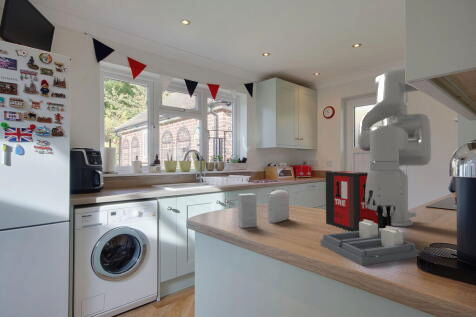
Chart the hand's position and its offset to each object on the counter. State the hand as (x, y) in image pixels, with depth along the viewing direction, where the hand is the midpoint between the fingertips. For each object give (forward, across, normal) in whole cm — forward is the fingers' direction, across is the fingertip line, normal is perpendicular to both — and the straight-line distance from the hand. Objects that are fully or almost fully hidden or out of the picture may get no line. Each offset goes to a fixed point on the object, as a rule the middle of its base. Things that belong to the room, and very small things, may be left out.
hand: (384, 228), depth 79 cm
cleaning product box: (+4, -2, -17) cm, 18 cm away
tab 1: (+2, +6, 0) cm, 7 cm away
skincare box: (+4, +32, -31) cm, 45 cm away
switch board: (+4, +11, +4) cm, 12 cm away
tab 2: (+2, +6, +8) cm, 10 cm away
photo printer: (+4, +18, -35) cm, 39 cm away
